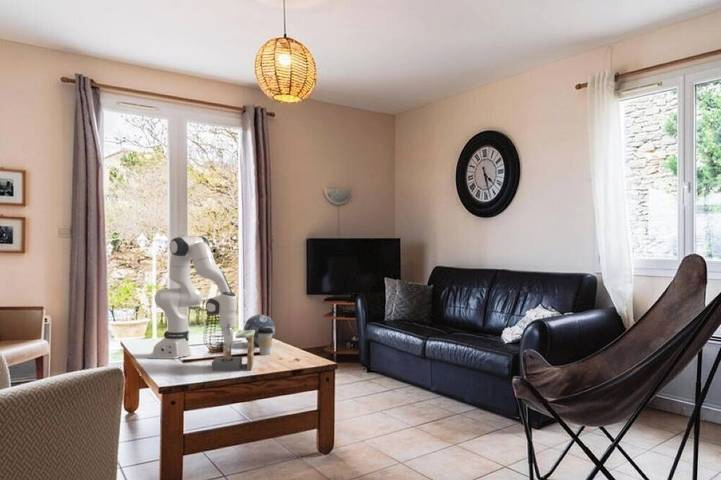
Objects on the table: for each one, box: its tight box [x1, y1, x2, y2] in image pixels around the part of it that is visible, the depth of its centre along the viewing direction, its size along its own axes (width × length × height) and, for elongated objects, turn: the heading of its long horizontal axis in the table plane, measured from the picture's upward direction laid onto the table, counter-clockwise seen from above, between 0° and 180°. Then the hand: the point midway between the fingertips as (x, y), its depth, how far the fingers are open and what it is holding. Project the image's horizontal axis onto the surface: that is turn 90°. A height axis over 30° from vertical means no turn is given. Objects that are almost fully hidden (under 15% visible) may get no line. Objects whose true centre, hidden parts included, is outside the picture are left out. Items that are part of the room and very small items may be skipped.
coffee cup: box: [257, 328, 273, 356], centre depth 291 cm, size 9×9×15 cm
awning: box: [235, 329, 255, 371], centre depth 260 cm, size 8×16×18 cm, turn 8°
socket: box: [211, 356, 243, 371], centre depth 259 cm, size 14×12×4 cm
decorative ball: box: [243, 314, 276, 347], centre depth 315 cm, size 20×20×20 cm
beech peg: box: [222, 343, 232, 361], centre depth 259 cm, size 4×4×12 cm
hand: (227, 348), depth 259 cm, fingers open, 8 cm apart
